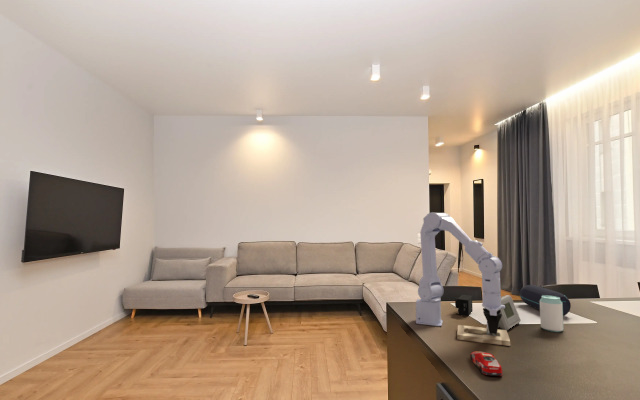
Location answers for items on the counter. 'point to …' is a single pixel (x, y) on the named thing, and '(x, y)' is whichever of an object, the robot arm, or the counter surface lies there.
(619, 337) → the counter surface
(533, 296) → the portable speaker
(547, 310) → the can
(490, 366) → the race car
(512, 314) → the digital clock
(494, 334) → the peg
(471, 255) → the robot arm
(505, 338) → the keyhole board
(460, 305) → the digital camera
